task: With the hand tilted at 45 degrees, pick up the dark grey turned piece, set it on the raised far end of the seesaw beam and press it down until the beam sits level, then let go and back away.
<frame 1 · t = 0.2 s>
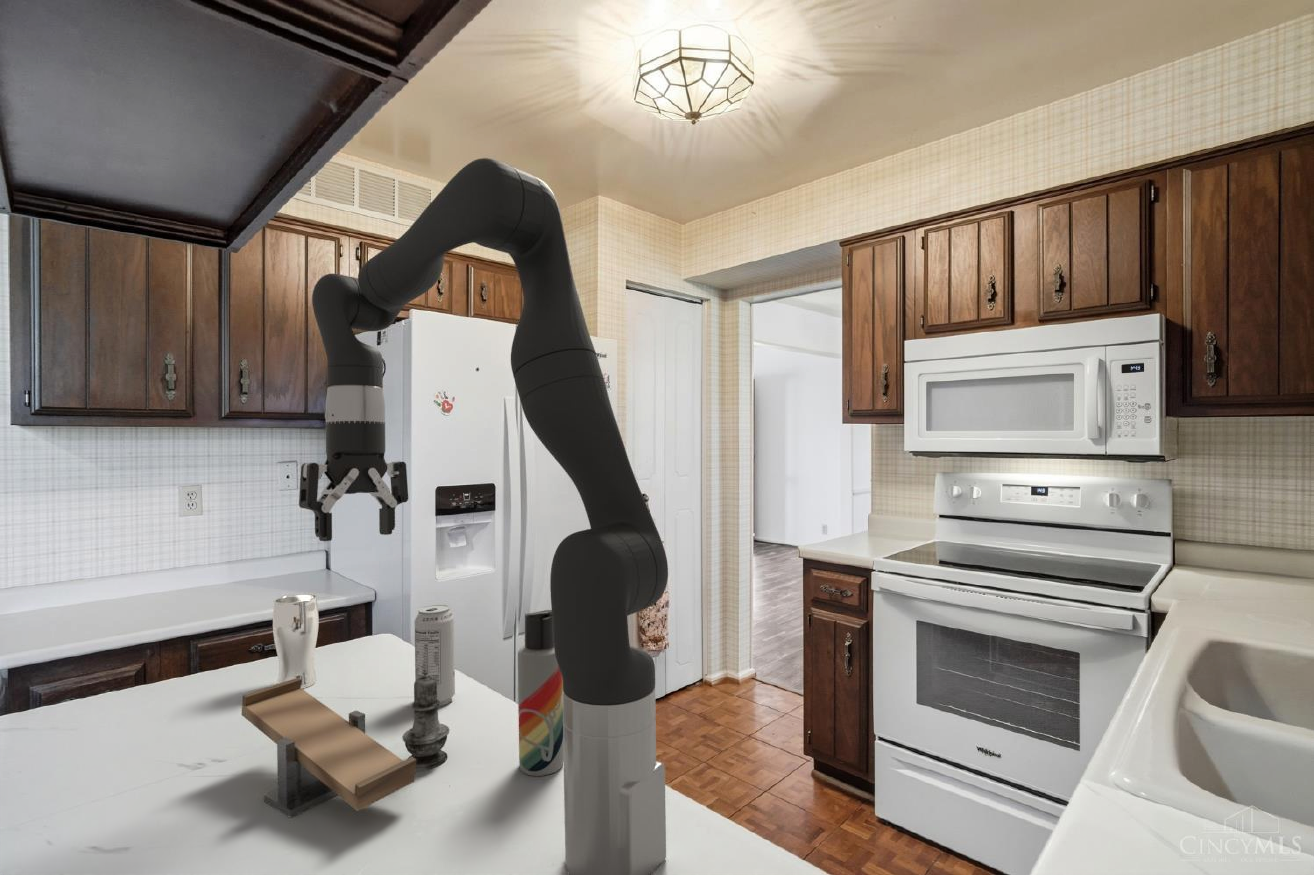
hand: (356, 537, 89), 29 cm above the counter, tool pointing down, fingers open, 8 cm apart
lotion bottle: (541, 767, 83), on the counter
beam: (324, 736, 79), point 6 cm above the counter, hinge at -10.0°
beer glass: (296, 685, 113), on the counter
pivot stand: (323, 787, 79), on the counter
dark grey turned piece: (426, 761, 85), on the counter
energy drink can: (435, 702, 104), on the counter
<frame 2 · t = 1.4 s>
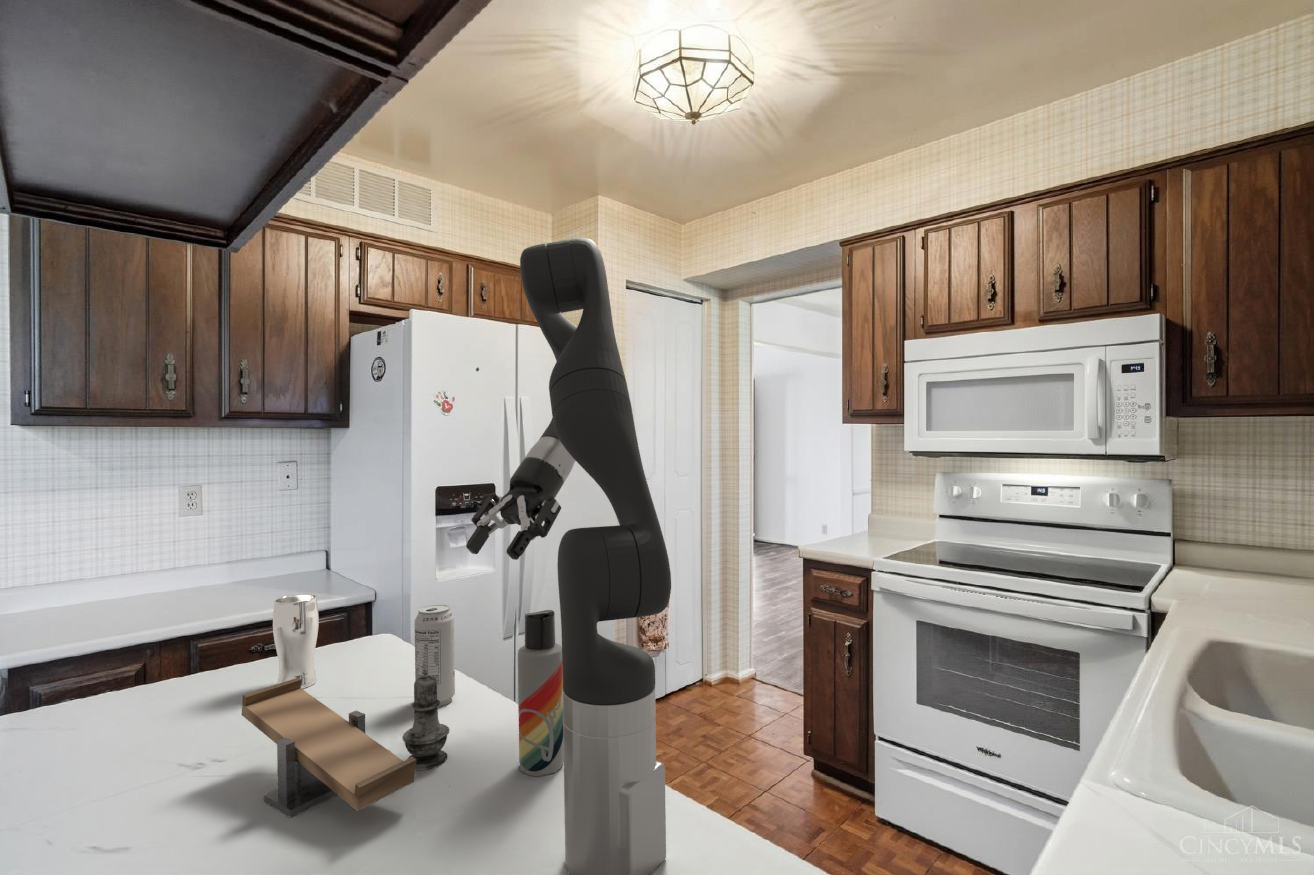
hand: (490, 553, 95), 25 cm above the counter, tool tilted 45°, fingers open, 8 cm apart
nothing on the counter moved.
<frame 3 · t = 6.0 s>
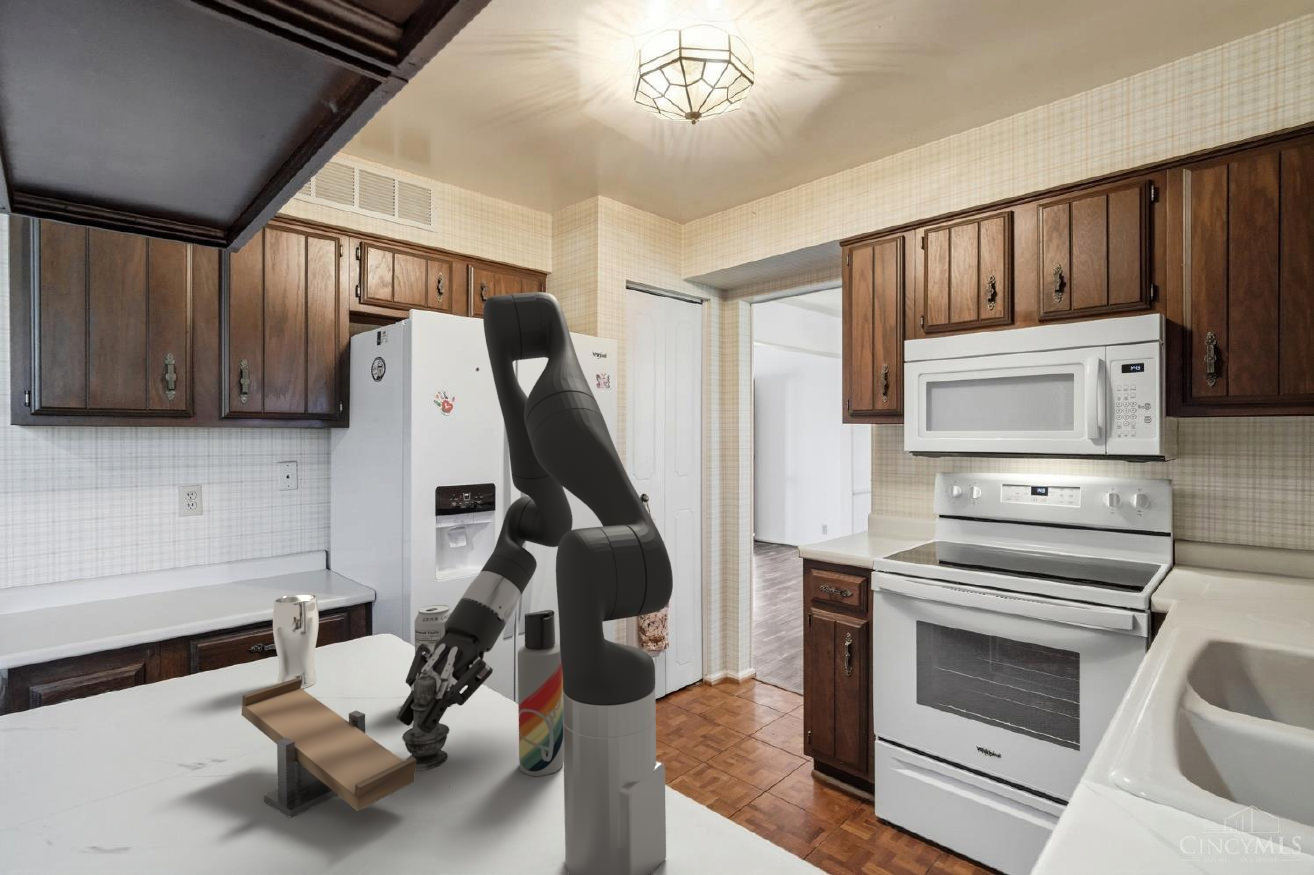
hand: (412, 725, 84), 5 cm above the counter, tool tilted 45°, fingers closed on dark grey turned piece, 3 cm apart
dark grey turned piece: (426, 761, 85), on the counter, touching gripper
everything else where it was.
when the fingers open (12 cm above the counter, at t = 12.0 s): dark grey turned piece stays where it is, resting on beam.
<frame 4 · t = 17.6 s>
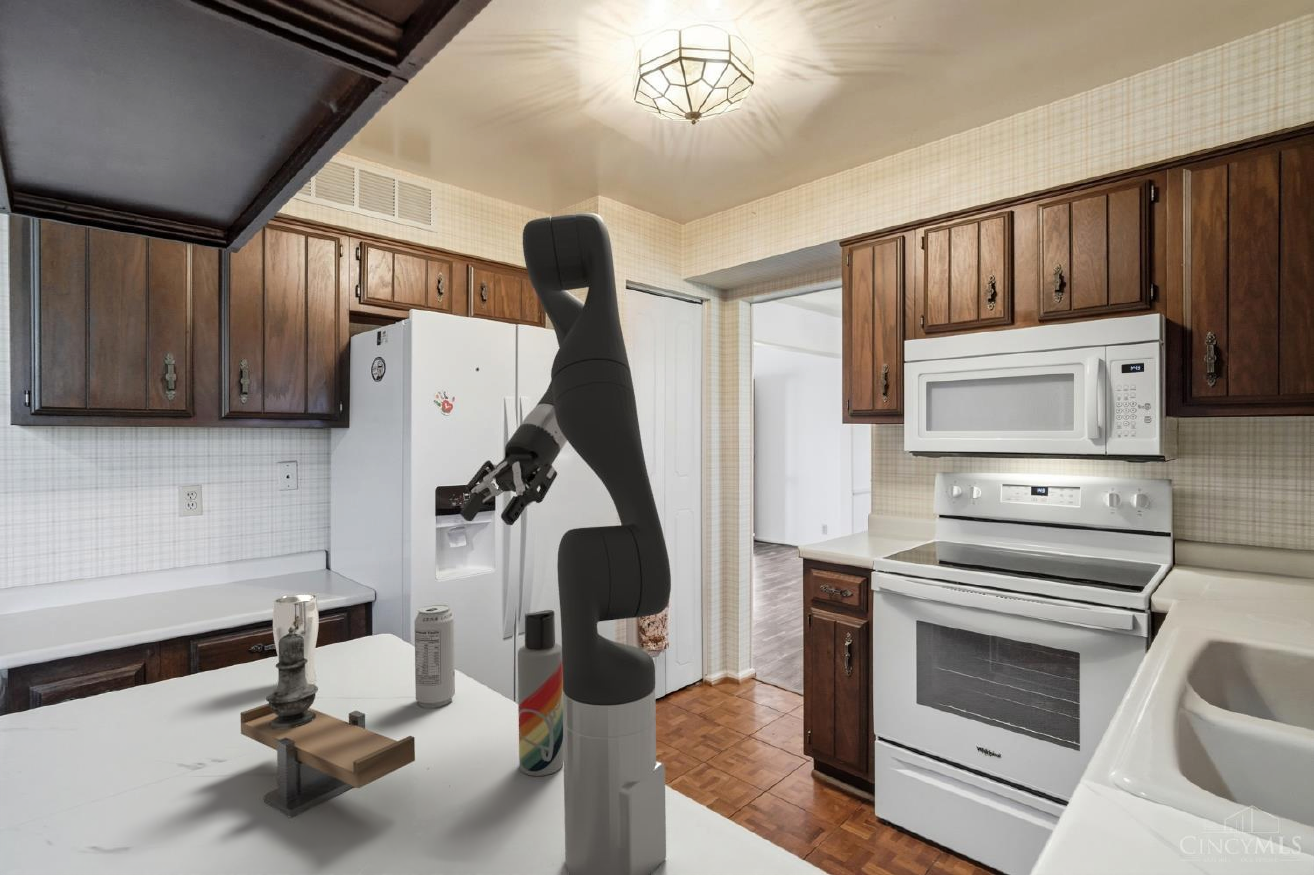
hand: (485, 519, 93), 31 cm above the counter, tool tilted 45°, fingers open, 8 cm apart
beam: (323, 735, 79), point 6 cm above the counter, hinge at 0.9°, touching dark grey turned piece
dark grey turned piece: (293, 722, 83), point 6 cm above the counter, touching beam
everything else where it was.
at the end: beam at +1° (first picture: -10°); dark grey turned piece inside the target area on the beam (0.4 cm from its centre), point 1.2 cm above the beam's base; dark grey turned piece tilted 1° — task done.
